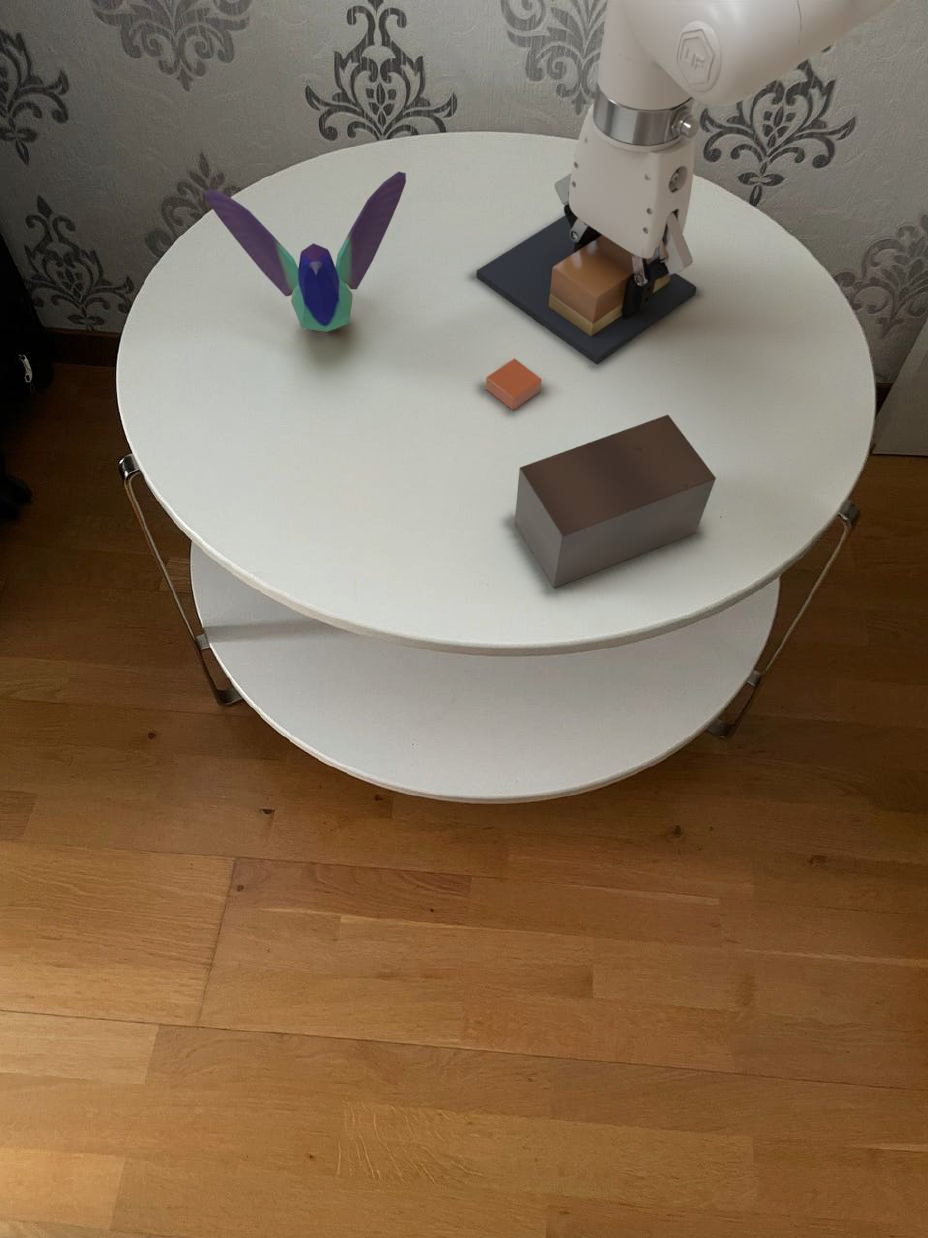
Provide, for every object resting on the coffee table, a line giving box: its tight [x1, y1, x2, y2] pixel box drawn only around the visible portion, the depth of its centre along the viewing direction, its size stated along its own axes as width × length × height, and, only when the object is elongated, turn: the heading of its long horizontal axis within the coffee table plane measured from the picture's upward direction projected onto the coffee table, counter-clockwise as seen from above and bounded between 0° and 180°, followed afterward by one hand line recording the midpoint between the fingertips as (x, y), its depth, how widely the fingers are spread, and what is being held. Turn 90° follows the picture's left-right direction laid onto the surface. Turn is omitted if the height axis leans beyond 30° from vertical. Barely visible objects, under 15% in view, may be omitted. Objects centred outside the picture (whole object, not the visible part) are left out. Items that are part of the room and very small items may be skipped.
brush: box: [549, 235, 671, 336], centre depth 88 cm, size 11×6×4 cm, turn 133°
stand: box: [514, 414, 717, 589], centre depth 74 cm, size 13×7×7 cm, turn 115°
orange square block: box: [485, 358, 543, 411], centre depth 84 cm, size 4×4×2 cm
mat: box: [476, 214, 698, 365], centre depth 91 cm, size 16×14×1 cm
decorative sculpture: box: [204, 171, 407, 333], centre depth 81 cm, size 17×18×15 cm
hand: (609, 290), depth 90 cm, fingers open, 5 cm apart
